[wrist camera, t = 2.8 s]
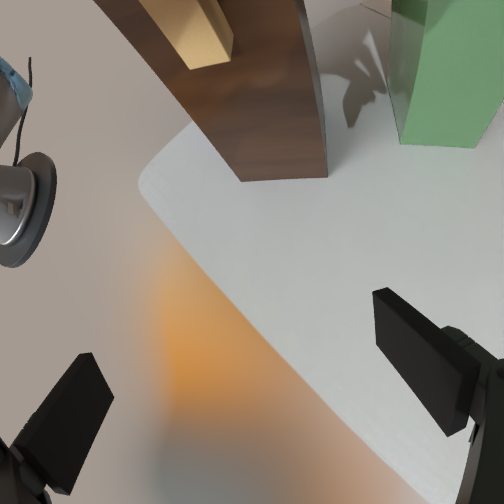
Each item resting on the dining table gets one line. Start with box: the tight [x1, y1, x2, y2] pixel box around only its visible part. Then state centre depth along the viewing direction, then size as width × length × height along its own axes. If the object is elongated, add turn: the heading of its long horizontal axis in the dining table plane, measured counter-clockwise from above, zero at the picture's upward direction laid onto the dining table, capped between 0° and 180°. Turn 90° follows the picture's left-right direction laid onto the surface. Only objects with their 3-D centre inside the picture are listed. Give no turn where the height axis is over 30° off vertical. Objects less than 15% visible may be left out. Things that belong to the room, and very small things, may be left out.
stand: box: [93, 0, 328, 182], centre depth 21 cm, size 10×10×32 cm
